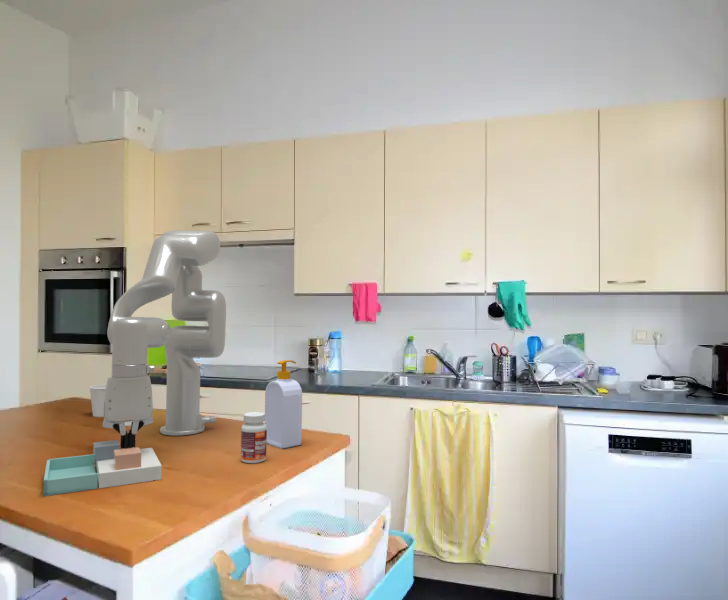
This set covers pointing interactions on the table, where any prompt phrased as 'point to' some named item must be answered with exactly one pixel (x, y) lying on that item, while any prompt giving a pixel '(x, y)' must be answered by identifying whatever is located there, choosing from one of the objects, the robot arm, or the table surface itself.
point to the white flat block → (129, 471)
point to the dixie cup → (98, 399)
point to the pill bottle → (253, 438)
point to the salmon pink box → (127, 458)
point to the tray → (70, 475)
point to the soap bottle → (283, 410)
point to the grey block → (105, 450)
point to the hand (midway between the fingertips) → (127, 450)
